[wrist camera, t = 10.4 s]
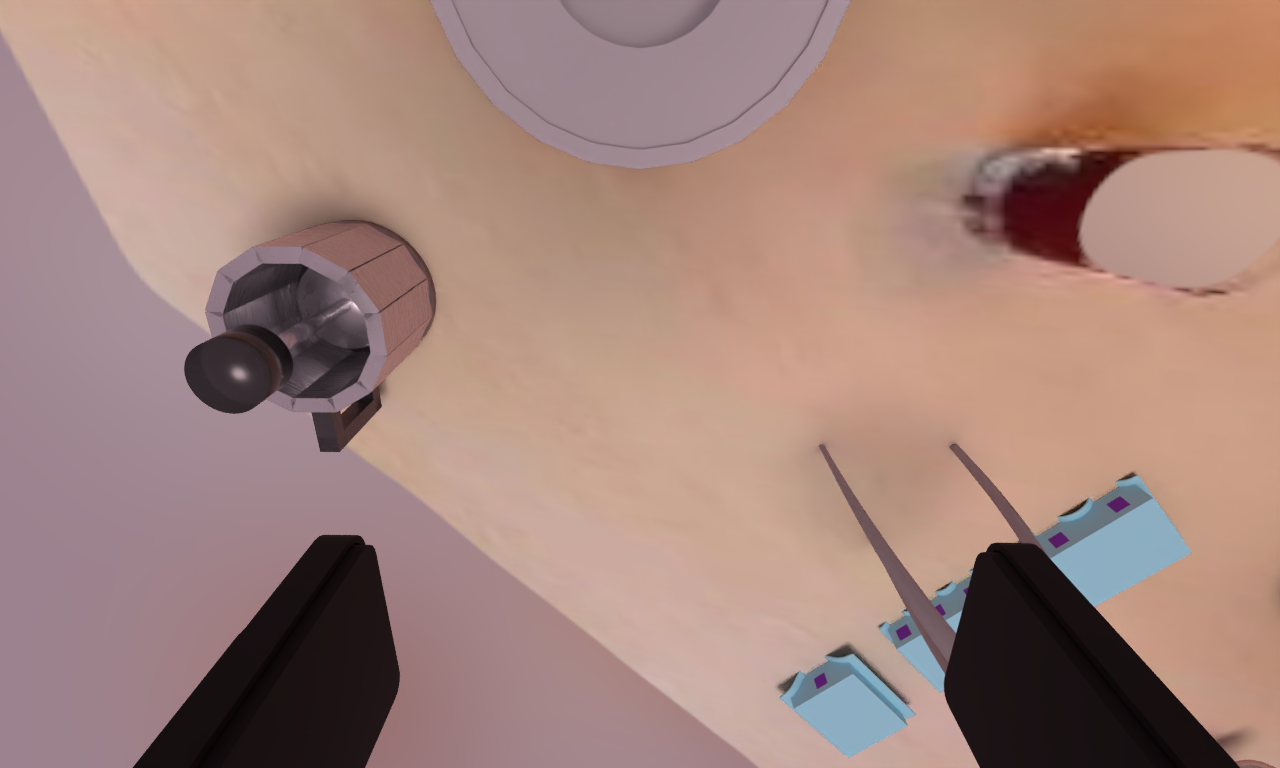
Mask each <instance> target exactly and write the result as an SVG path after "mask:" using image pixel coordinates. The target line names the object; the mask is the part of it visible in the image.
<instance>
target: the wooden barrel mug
mask: <svg viewBox="0 0 1280 768" xmlns="http://www.w3.org/2000/svg"><path fill="white" fill-rule="evenodd" d="M309 268H310V269H312V270H314V271H316V272H318V273H320V274H322V275H324V276H326V277H328V278H330V279H332V280H333V281H335V282H337V283H339V284H340V285H341V287H342V288H343V289H344V290H345V292H346V293H347V294H348V296H349V297H350V298H351V300H352V301H353V302H354V303H355V305H356V306H357V307H358V309H359V310H360V311H361V313H362V314H363V315H364V317H365V323H366V329H367V334H368V340H369V346H367V347H363V348H356V349H350V348H343V347H339V346H336V345H333V344H331V343H329V342H327V341H325V340H324V339H322V338H321V337H319V336H318V335H317V334H316V333H314V334H312V335H311V336H309V337H307V338H306V339H304V340H303V341H301V342H300V343H298V344H297V345H295V346H293V347H292V348H290V349H289V351H290V353H291V355H292V359H293V373H292V376H291V378H290V380H289V381H288V382H287V383H286V384H285V385H284V386H283V387H281V388H280V389H279V390H277V391H276V392H275V393H273V394H272V395H271V396H269V397H268V398H266V400H268V401H271V402H273V403H275V404H277V405H279V406H281V407H283V408H286V409H287V410H289V411H293V412H312V416H313V421H314V425H315V430H316V434H317V439H318V443H319V448H320V451H321V452H340V451H341V450H342V449H343V448H344V447H345V446H346V445H347V444H348V442H349V441H350V440H351V439H352V438H353V437H354V436H355V435H356V434H357V433H358V432H359V431H360V430H361V428H362V427H363V426H364V425H365V424H366V423H367V422H368V421H369V420H370V419H371V418H372V417H373V415H374V414H375V413H376V412H377V411H378V410H379V409H380V408H381V407H382V405H381V399H380V394H379V388H378V385H379V384H380V383H381V382H382V381H383V380H384V379H385V378H386V377H387V376H388V375H389V374H390V373H391V372H392V371H393V370H394V369H395V368H396V367H397V366H398V365H399V364H400V363H401V362H402V361H403V360H404V359H405V358H406V357H407V356H408V355H409V354H410V353H411V352H412V351H413V350H414V349H415V348H416V347H417V346H418V345H419V343H420V341H421V340H422V339H423V338H424V336H425V335H426V334H427V332H428V330H429V328H430V327H431V324H432V321H433V318H434V314H435V307H436V296H435V289H434V284H433V281H432V278H431V275H430V273H429V271H428V268H427V266H426V265H425V263H424V261H423V260H422V258H421V257H420V256H419V254H418V253H417V252H416V251H415V249H414V248H413V247H412V246H411V245H410V244H409V243H408V242H406V241H405V240H404V239H403V238H401V237H400V236H399V235H397V234H396V233H394V232H392V231H391V230H389V229H387V228H384V227H382V226H380V225H377V224H374V223H370V222H365V221H357V220H346V221H339V222H334V223H325V224H322V225H319V226H316V227H313V228H310V229H306V230H303V231H300V232H297V233H294V234H291V235H288V236H285V237H282V238H279V239H276V240H272V241H269V242H266V243H263V244H260V245H257V246H254V247H252V248H250V249H249V250H247V251H246V252H244V253H243V254H241V255H240V256H238V257H237V258H235V259H234V260H232V261H231V262H230V263H228V264H227V265H225V266H224V267H222V268H221V269H219V271H217V274H216V277H215V280H214V283H213V286H212V290H211V293H210V296H209V299H208V302H207V305H206V309H205V310H206V312H205V313H206V317H207V320H208V324H209V328H210V331H211V335H212V338H214V337H216V336H218V335H220V334H222V333H224V332H226V331H228V330H230V329H232V328H234V327H236V326H239V325H244V324H251V325H258V326H261V327H264V328H266V329H268V330H270V331H272V332H273V333H275V334H276V335H277V336H278V335H279V334H281V333H283V332H284V331H286V330H288V329H290V328H291V327H293V326H295V325H296V324H298V323H300V322H302V321H303V320H304V318H303V316H302V314H301V311H300V308H299V305H298V286H299V283H300V280H301V278H302V276H303V275H304V273H305V272H306V271H307V270H308V269H309ZM350 404H351V405H350ZM349 405H350V406H349ZM347 406H349V407H348V408H347V409H346V410H345V411H344V412H343V413H342V414H341V413H340V410H342V409H343V408H345V407H347Z"/></svg>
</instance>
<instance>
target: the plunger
mask: <svg viewBox="0 0 1280 768" xmlns="http://www.w3.org/2000/svg"><path fill="white" fill-rule="evenodd" d="M298 305H299V308H300V311H301V314H302V316H303V318H304V320H303V321H302V322H300V323H298V324H296V325H295V326H293V327H291V328H290V329H288V330H286V331H284V332H283V333H281V334H279V335H278V336H277V335H276V334H275V333H273V332H272V331H270V330H268V329H266V328H264V327H261V326H258V325H251V324H244V325H239V326H236V327H234V328H232V329H230V330H228V331H226V332H224V333H222V334H220V335H218V336H216V337H214V338H212V339H210V340H208V341H206V342H204V343H202V344H200V345H198V346H196V347H195V348H194V349H192V350H191V351H190V352H189V354H188V356H187V358H186V361H185V367H184V371H185V376H186V380H187V383H188V385H189V386H190V388H191V390H192V391H193V392H194V394H195V395H196V396H197V397H198V398H199V399H200V400H201V401H202V402H204V403H205V404H207V405H208V406H210V407H212V408H213V409H216V410H218V411H222V412H225V413H233V414H235V413H243V412H246V411H249V410H250V409H253V408H254V407H255V406H257V405H258V404H260V402H262V401H263V400H265V399H266V398H268V397H269V396H271V395H272V394H273V393H275V392H276V391H277V390H279V389H280V388H281V387H283V386H284V385H285V384H286V383H287V382H288V381H289V380H290V378H291V376H292V373H293V359H292V355H291V353H290V351H289V349H290V348H292V347H293V346H295V345H297V344H298V343H300V342H301V341H303V340H304V339H306V338H307V337H309V336H311V335H312V334H314V333H316V334H317V335H318V336H319V337H321V338H322V339H324V340H325V341H327V342H329V343H331V344H333V345H336V346H339V347H343V348H350V349H356V348H363V347H367V346H369V340H368V334H367V329H366V323H365V317H364V315H363V314H362V313H361V311H360V310H359V309H358V307H357V306H356V305H355V303H354V302H353V301H352V300H351V298H350V297H349V296H348V294H347V293H346V292H345V290H344V289H343V288H342V287H341V285H340V284H339V283H337V282H335V281H333V280H332V279H330V278H328V277H326V276H324V275H322V274H320V273H318V272H316V271H314V270H312V269H310V268H309V269H308V270H307V271H306V272H305V273H304V275H303V276H302V278H301V280H300V283H299V286H298Z"/></svg>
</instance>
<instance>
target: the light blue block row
mask: <svg viewBox="0 0 1280 768" xmlns="http://www.w3.org/2000/svg"><path fill="white" fill-rule="evenodd" d="M1116 483H1117V485H1118V486H1119V487H1118V488H1116V489H1115V490H1113V491H1111V492H1110V493H1108V494H1106V495H1105V496H1103V497H1101V498H1100V499H1098V500H1096V501H1095V502H1093V501H1092V500H1091V498H1088V499H1087V501H1086V503H1085V505H1084V506H1083V507H1082V508H1080V509H1079V510H1078V511H1076V512H1074V513H1072V514H1069V515H1065V516H1058V517H1057V518H1058V519H1059V521H1060V523H1058V524H1057V525H1055V526H1053V527H1052V528H1050V529H1049V530H1047V531H1045V532H1044V533H1042V534H1040V535H1039V536H1037V537H1036V536H1035V534H1034V533H1033V532H1032V533H1033V534H1034V536H1035V537H1036V539H1037V540H1038V541H1039V543H1040V544H1041V546H1042V548H1043V549H1044V551H1045V552H1046V554H1047V555H1048V557H1049V558H1050V559H1051V560H1052V561H1053V562H1054V564H1055V565H1056V566H1057V567H1058V568H1059V569H1060V570H1061V571H1062V572H1063V573H1064V574H1065V576H1066V577H1067V578H1068V579H1069V580H1070V581H1071V582H1072V583H1073V584H1074V585H1075V587H1076V588H1077V589H1078V590H1079V591H1080V592H1081V593H1082V594H1083V595H1084V596H1085V598H1086V599H1087V600H1088V601H1089V602H1090V603H1091V604H1092V605H1093V606H1094V607H1095V606H1097V605H1099V604H1100V603H1102V602H1104V601H1106V600H1108V599H1109V598H1111V597H1113V596H1115V595H1117V594H1118V593H1120V592H1122V591H1124V590H1126V589H1127V588H1129V587H1131V586H1133V585H1135V584H1136V583H1138V582H1140V581H1142V580H1144V579H1145V578H1147V577H1149V576H1151V575H1153V574H1154V573H1156V572H1158V571H1160V570H1162V569H1163V568H1165V567H1167V566H1169V565H1171V564H1172V563H1174V562H1176V561H1178V560H1180V559H1181V558H1183V557H1185V556H1187V555H1189V554H1190V553H1192V552H1191V551H1190V549H1189V548H1188V547H1187V545H1186V544H1185V542H1184V541H1183V538H1182V537H1181V535H1180V534H1179V532H1178V531H1177V529H1176V528H1175V527H1174V525H1173V524H1172V522H1171V521H1170V520H1169V518H1168V517H1167V515H1166V514H1165V512H1164V511H1163V510H1162V508H1161V507H1160V505H1159V504H1158V502H1157V501H1156V500H1155V498H1154V497H1153V495H1152V494H1151V493H1150V491H1149V490H1148V488H1147V487H1146V485H1145V484H1144V483H1143V481H1142V480H1141V478H1140V477H1139V475H1135V476H1134V477H1131V478H1129V479H1125V480H1118V481H1116ZM969 572H970V573H971V574H972V572H973V570H969ZM970 580H971V577H969V578H967V579H966V580H964V581H962V582H961V583H959V584H958V585H956V584H955V583H954V582H953V581H951V582H950V584H949V585H948V586H947V587H946V588H944V589H942V590H939V591H935V593H936V594H937V595H938V597H936V598H934V599H933V600H931V601H930V602H931V603H932V604H933V605H934V607H935V608H936V609H937V610H938V612H939V613H940V614H941V615H942V617H943V618H944V619H945V620H946V622H947V623H948V624H949V625H950V627H951V628H952V629H953V630H954V631H955V633H956V632H957V628H958V625H959V621H960V617H961V613H962V610H963V606H964V602H965V598H966V595H967V591H968V587H969V583H970ZM902 613H903V614H904V615H905V617H903V618H901V619H900V620H898V621H896V622H895V623H893V624H891V625H889V624H888V623H887V622H884V624H883V625H882V626H881V627H880V628H879V630H880V631H881V632H882V633H883V634H884V635H885V636H886V637H887V638H888V639H889V640H890V641H891V642H892V643H893V644H894V645H895V647H896V649H897V650H898V651H899V652H900V653H901V654H902V655H903V656H904V657H905V658H906V659H907V660H908V661H909V662H910V663H911V664H912V665H913V666H914V667H915V668H916V669H917V670H918V671H919V672H920V673H921V674H922V675H923V676H924V677H925V678H926V679H927V680H928V681H929V682H930V683H931V684H932V685H933V686H934V687H935V688H936V689H937V690H938V691H939V692H942V691H944V677H945V674H944V672H943V670H942V669H941V667H940V665H939V664H938V662H937V661H936V659H935V657H934V656H933V654H932V652H931V651H930V649H929V647H928V646H927V644H926V642H925V640H924V639H923V637H922V635H921V633H920V632H919V630H918V628H917V626H916V625H915V623H914V621H913V619H912V617H911V616H910V614H909V612H908V610H907V611H902ZM824 657H826V658H827V659H828V660H829V661H828V662H827V663H825V664H823V665H822V666H820V667H818V668H817V669H815V670H813V671H812V672H810V673H808V674H807V675H804V674H803V673H802V672H801V671H799V672H798V674H797V676H796V678H795V680H794V682H793V684H792V686H791V687H790V688H789V690H788V691H787V692H786V693H784V694H783V695H782V696H780V699H782V700H783V701H784V702H785V703H786V704H787V705H788V706H789V707H791V708H792V709H793V710H794V711H795V712H796V713H797V714H799V715H800V716H801V717H802V718H803V719H804V720H805V721H807V722H808V723H809V724H810V725H811V726H812V727H813V728H814V729H816V730H817V731H818V732H819V733H820V734H821V735H822V736H824V737H825V738H826V739H827V740H828V741H829V742H830V743H831V744H833V745H834V746H835V747H836V748H837V749H838V750H839V751H841V752H842V753H843V754H844V755H847V756H848V757H849V758H850V757H851V756H853V755H855V754H857V753H859V752H861V751H862V750H864V749H866V748H868V747H870V746H872V745H873V744H875V743H877V742H879V741H881V740H883V739H884V738H886V737H888V736H890V735H892V734H893V733H895V732H897V731H899V730H901V729H903V728H904V727H906V726H908V725H907V723H906V721H905V718H910V717H913V716H915V715H916V714H915V713H914V712H913V711H912V710H911V709H910V708H909V707H908V706H907V705H906V704H905V703H904V702H903V701H902V700H901V699H900V698H899V697H898V696H897V695H896V694H895V693H893V692H892V691H891V690H890V689H889V688H888V687H887V686H886V685H885V684H884V683H883V682H882V681H881V680H880V679H879V678H878V677H877V676H876V675H875V674H874V673H873V672H872V671H871V670H870V669H869V668H868V667H867V666H866V665H865V664H863V663H862V662H861V661H860V660H859V659H858V658H857V657H856V656H855V655H854V654H853V653H852V654H849V655H847V656H844V657H832V656H828V655H826V656H824Z"/></svg>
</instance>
